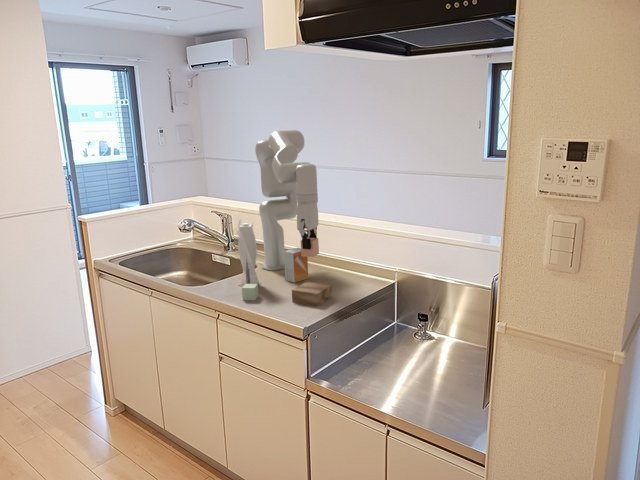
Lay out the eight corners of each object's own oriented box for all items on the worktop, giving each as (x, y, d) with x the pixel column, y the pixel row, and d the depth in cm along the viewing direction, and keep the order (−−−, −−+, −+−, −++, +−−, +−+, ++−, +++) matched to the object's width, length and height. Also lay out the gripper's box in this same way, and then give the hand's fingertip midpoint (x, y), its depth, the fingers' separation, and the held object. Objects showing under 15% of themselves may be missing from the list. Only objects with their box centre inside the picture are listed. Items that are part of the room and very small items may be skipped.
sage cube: (246, 295, 200) (245, 283, 198) (258, 295, 199) (257, 283, 198) (242, 300, 195) (241, 288, 194) (255, 300, 194) (254, 288, 193)
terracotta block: (306, 252, 191) (305, 237, 190) (318, 253, 190) (318, 237, 188) (301, 256, 187) (300, 240, 186) (313, 256, 185) (313, 241, 184)
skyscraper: (236, 285, 214) (230, 220, 207) (250, 280, 219) (245, 217, 213) (248, 289, 208) (243, 222, 202) (263, 284, 214) (258, 219, 207)
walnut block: (307, 293, 200) (306, 281, 199) (331, 297, 194) (331, 285, 193) (292, 302, 191) (291, 290, 189) (317, 307, 185) (316, 294, 184)
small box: (294, 283, 212) (293, 253, 209) (285, 280, 217) (283, 251, 214) (308, 278, 218) (307, 249, 215) (299, 275, 222) (297, 247, 219)
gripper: (307, 195, 192) (309, 241, 197) (288, 202, 177) (290, 252, 181) (325, 195, 190) (327, 242, 194) (307, 202, 174) (310, 253, 178)
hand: (309, 246), depth 187 cm, fingers closed on terracotta block, 5 cm apart
